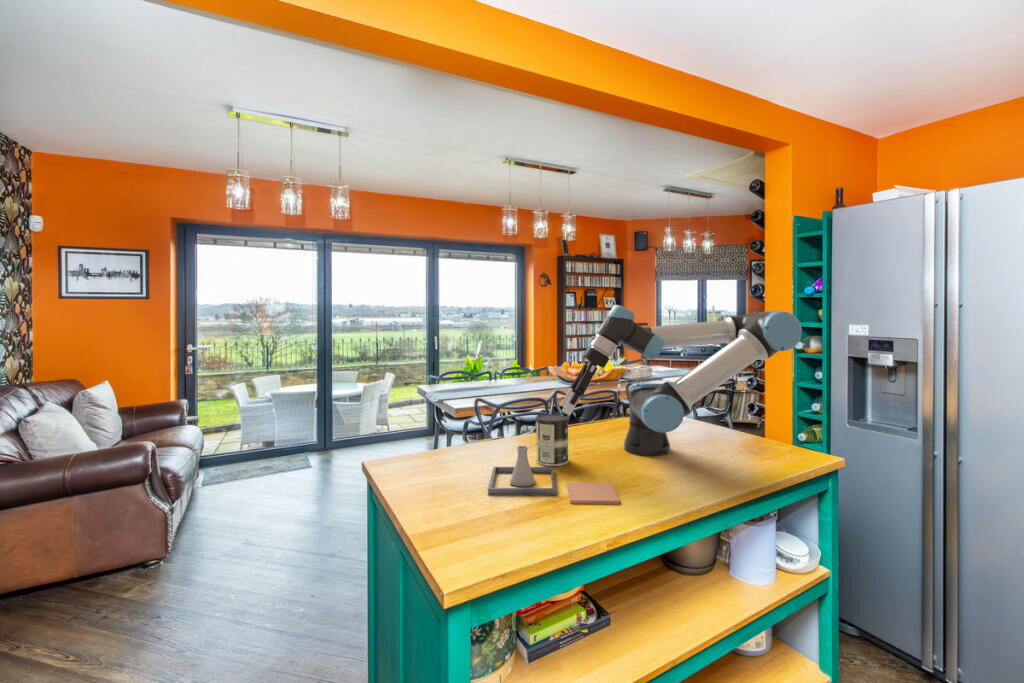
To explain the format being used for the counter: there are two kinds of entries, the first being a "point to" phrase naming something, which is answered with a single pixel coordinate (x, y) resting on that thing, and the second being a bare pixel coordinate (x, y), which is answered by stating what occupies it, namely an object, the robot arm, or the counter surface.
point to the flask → (522, 469)
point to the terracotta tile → (592, 493)
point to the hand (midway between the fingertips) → (564, 410)
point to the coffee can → (552, 440)
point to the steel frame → (522, 490)
